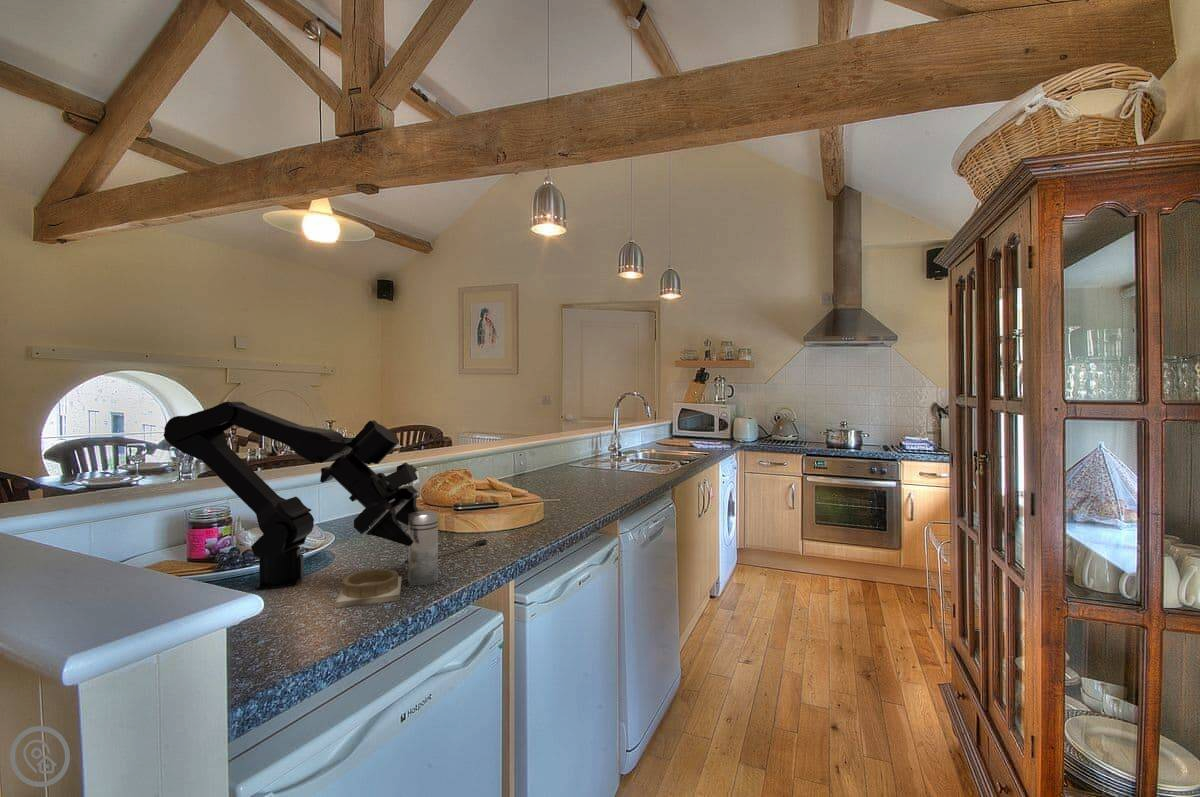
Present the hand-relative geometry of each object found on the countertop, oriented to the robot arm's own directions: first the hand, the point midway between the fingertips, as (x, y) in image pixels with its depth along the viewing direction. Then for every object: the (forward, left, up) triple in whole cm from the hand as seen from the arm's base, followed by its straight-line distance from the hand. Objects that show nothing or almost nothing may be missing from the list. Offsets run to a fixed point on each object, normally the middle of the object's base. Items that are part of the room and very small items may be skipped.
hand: (419, 537), depth 101 cm
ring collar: (-8, -4, -8) cm, 13 cm away
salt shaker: (+1, 0, -8) cm, 8 cm away
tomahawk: (+7, +16, -9) cm, 20 cm away
